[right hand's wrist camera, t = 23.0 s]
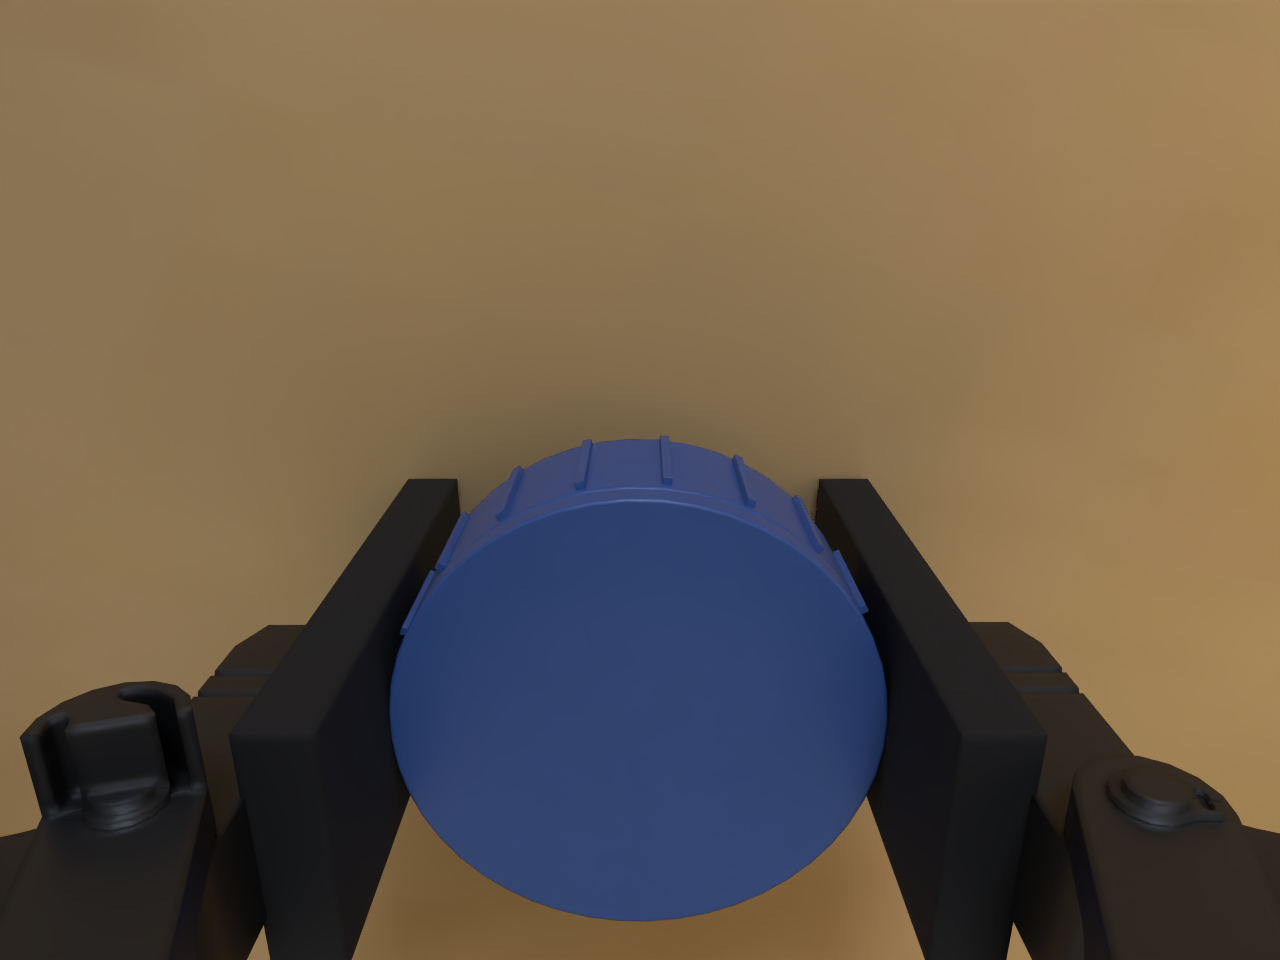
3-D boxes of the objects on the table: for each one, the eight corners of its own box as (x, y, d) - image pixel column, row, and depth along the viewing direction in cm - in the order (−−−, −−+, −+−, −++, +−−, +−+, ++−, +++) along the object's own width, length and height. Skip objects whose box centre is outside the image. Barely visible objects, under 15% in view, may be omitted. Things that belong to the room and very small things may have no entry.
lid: (511, 851, 13) (489, 972, 11) (354, 506, 12) (295, 579, 10) (891, 754, 13) (937, 864, 11) (793, 374, 11) (827, 423, 9)
